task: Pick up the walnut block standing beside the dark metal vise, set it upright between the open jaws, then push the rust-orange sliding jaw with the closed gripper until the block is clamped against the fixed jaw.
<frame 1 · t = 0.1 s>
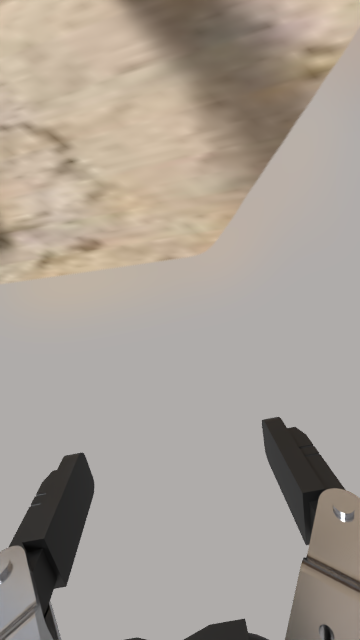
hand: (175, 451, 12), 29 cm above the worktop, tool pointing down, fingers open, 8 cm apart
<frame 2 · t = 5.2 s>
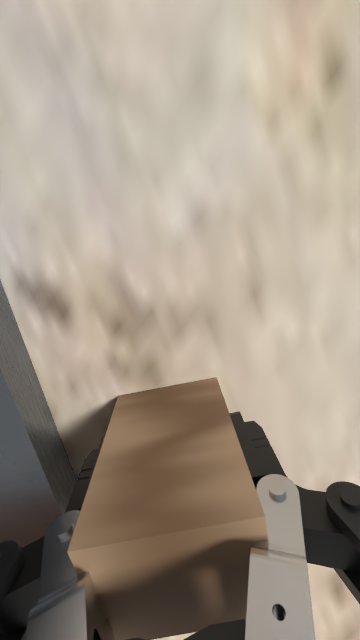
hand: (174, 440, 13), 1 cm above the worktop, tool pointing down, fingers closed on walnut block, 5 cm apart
walnut block: (174, 420, 14), on the worktop, touching gripper
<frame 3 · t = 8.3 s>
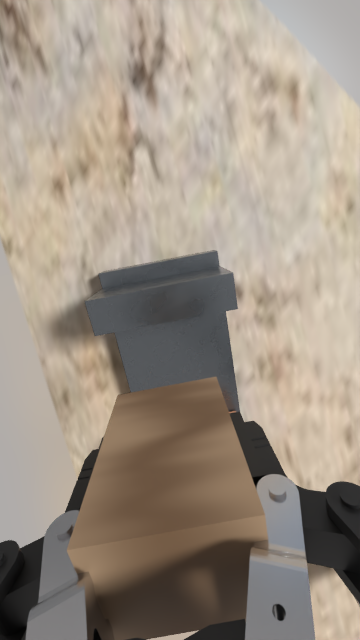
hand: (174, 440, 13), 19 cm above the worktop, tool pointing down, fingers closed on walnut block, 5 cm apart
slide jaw: (194, 449, 29), point 5 cm above the worktop, slide at 0.0 cm
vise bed: (179, 361, 32), on the worktop
walnut block: (174, 419, 14), point 17 cm above the worktop, touching gripper
when the fingers open (4 cm above the worktop, at t = 11.7 s): walnut block stays where it is, resting on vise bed.
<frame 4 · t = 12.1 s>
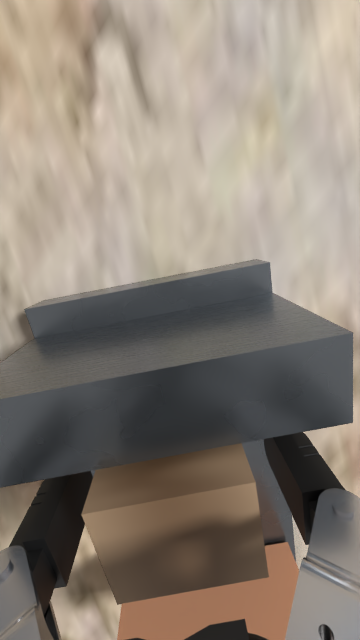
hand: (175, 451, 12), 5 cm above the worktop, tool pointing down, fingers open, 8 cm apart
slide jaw: (218, 639, 15), point 5 cm above the worktop, slide at 0.0 cm
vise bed: (187, 453, 18), on the worktop
walnut block: (175, 408, 15), point 2 cm above the worktop, touching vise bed
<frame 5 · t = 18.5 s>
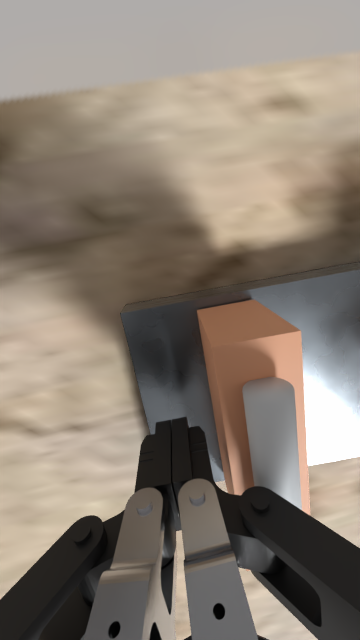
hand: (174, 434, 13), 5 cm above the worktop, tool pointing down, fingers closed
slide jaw: (255, 437, 12), point 5 cm above the worktop, slide at 1.4 cm, touching gripper
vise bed: (330, 360, 17), on the worktop
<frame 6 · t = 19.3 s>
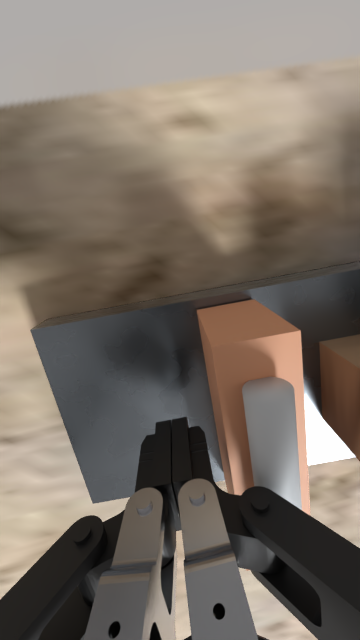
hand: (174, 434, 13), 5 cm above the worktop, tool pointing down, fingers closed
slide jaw: (255, 437, 12), point 5 cm above the worktop, slide at 6.1 cm, touching gripper
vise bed: (257, 373, 17), on the worktop
walnut block: (355, 375, 15), point 2 cm above the worktop, touching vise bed
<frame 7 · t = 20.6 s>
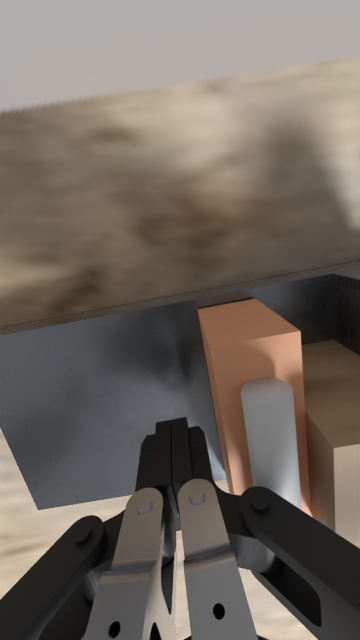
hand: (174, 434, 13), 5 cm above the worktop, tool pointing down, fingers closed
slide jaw: (256, 437, 12), point 5 cm above the worktop, slide at 10.0 cm, touching gripper, walnut block
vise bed: (200, 383, 17), on the worktop
walnut block: (299, 385, 15), point 2 cm above the worktop, touching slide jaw, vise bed
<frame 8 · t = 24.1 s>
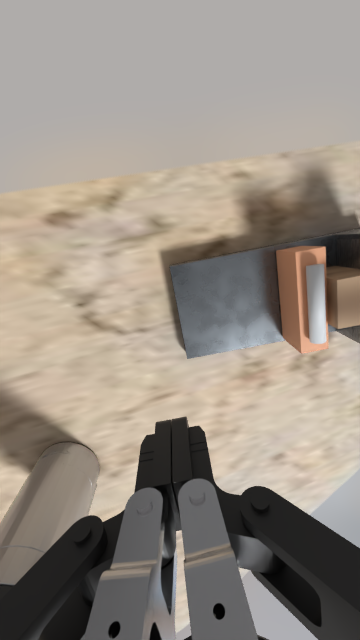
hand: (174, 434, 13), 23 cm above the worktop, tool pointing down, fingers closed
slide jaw: (304, 299, 29), point 5 cm above the worktop, slide at 10.0 cm, touching walnut block
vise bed: (269, 293, 35), on the worktop
walnut block: (319, 289, 33), point 2 cm above the worktop, touching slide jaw, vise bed
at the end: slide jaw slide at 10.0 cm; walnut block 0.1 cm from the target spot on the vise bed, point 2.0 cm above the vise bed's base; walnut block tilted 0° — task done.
